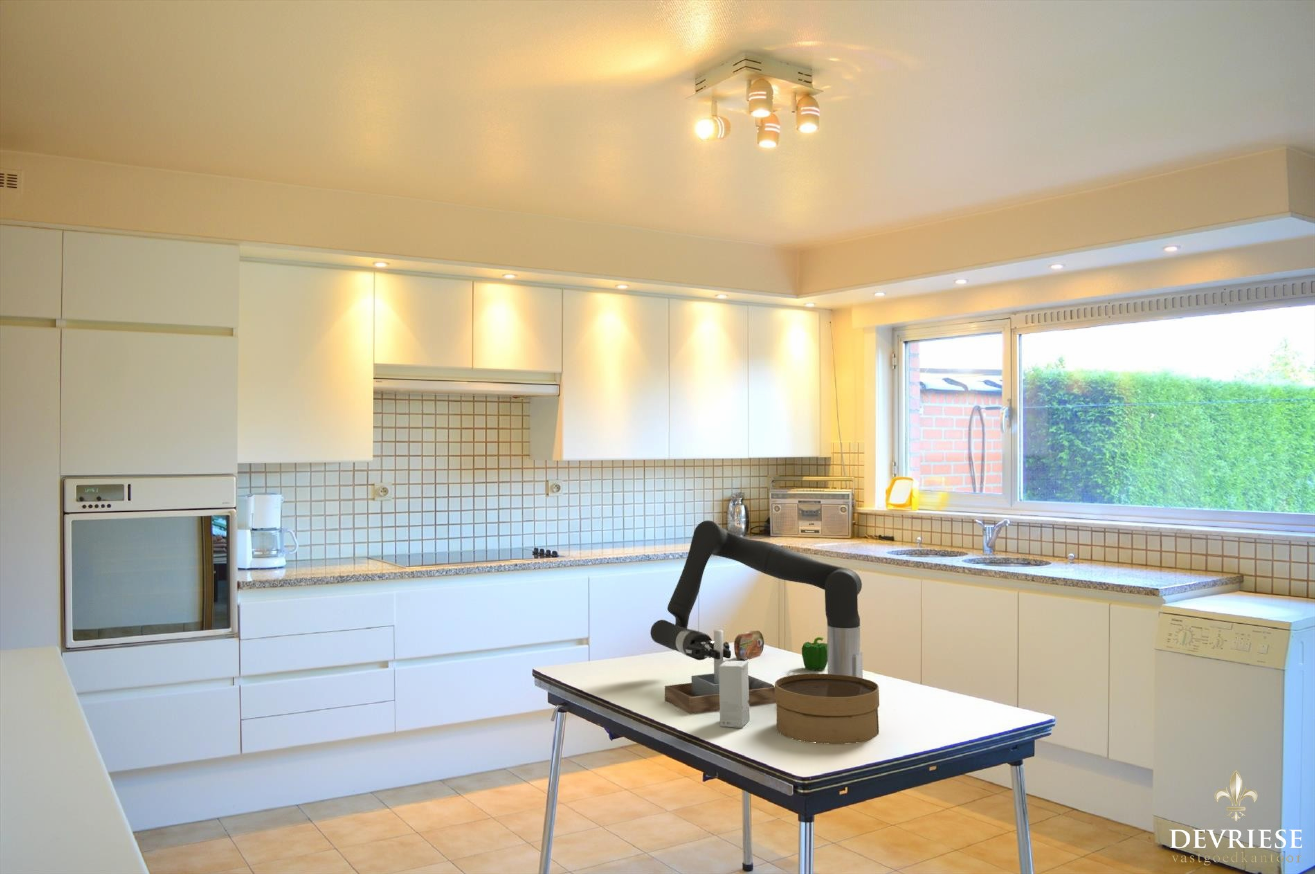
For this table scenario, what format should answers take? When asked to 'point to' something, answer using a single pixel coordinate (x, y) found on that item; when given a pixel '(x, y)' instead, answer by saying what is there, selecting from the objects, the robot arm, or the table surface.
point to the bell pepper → (815, 655)
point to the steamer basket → (827, 708)
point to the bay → (716, 696)
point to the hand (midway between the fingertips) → (724, 654)
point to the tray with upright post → (709, 682)
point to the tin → (748, 645)
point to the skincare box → (734, 694)
